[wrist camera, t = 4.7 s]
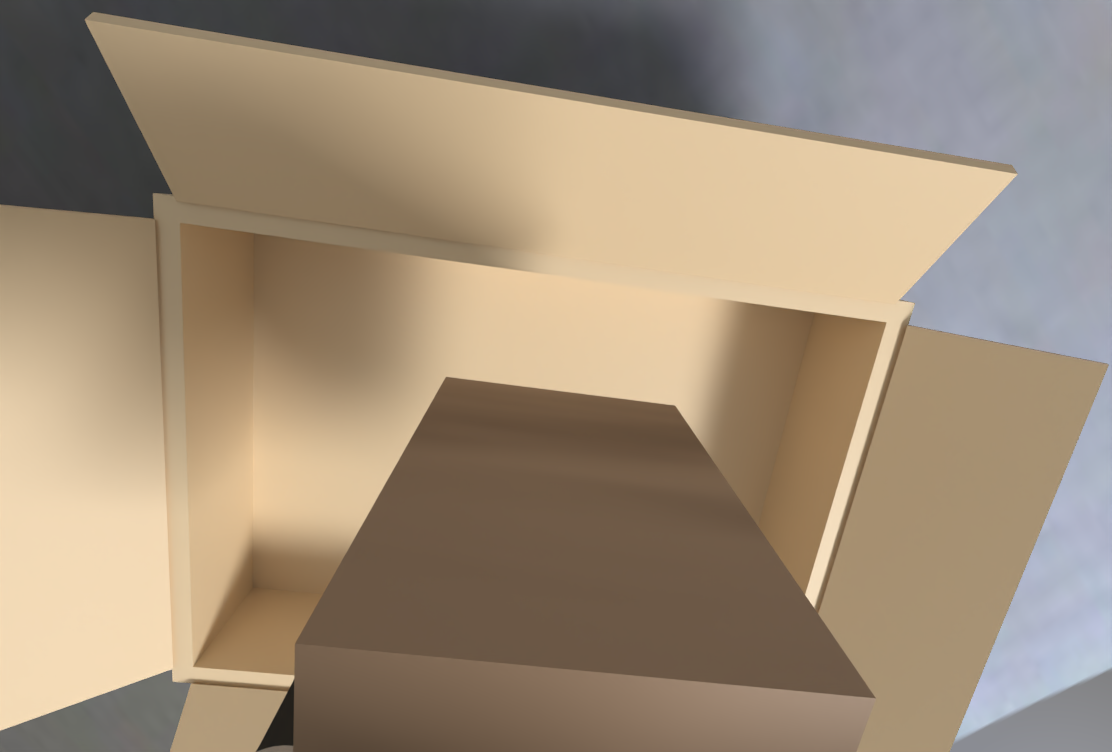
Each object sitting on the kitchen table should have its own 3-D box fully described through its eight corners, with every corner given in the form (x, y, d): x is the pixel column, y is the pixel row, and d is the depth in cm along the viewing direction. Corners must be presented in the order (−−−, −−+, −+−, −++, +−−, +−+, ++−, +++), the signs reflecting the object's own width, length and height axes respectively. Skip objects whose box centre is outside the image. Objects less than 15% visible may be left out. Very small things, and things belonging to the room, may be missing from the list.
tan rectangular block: (446, 376, 11) (294, 643, 4) (675, 405, 11) (875, 698, 4) (413, 741, 13) (284, 1274, 7) (601, 757, 14) (660, 1284, 7)
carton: (122, 67, 16) (-146, -31, 10) (957, 200, 18) (1189, 192, 12) (152, 659, 22) (-8, 847, 15) (795, 713, 24) (894, 899, 17)
